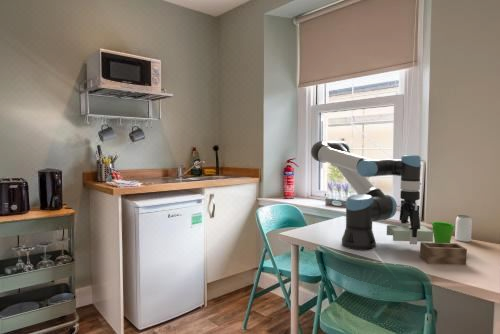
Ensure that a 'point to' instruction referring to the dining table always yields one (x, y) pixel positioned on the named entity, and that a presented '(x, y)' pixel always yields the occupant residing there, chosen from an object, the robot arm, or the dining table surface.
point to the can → (463, 228)
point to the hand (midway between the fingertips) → (408, 240)
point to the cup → (442, 232)
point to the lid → (404, 233)
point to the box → (443, 253)
